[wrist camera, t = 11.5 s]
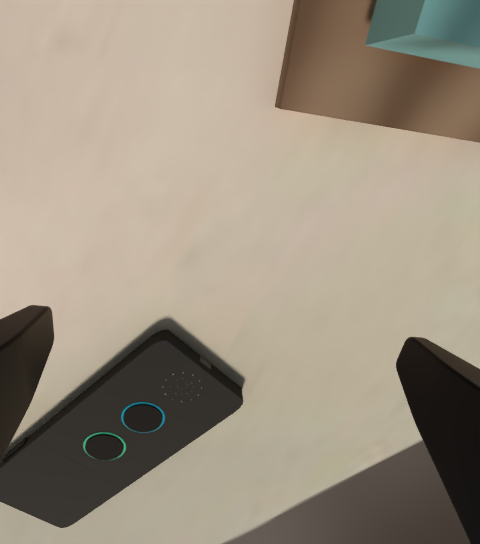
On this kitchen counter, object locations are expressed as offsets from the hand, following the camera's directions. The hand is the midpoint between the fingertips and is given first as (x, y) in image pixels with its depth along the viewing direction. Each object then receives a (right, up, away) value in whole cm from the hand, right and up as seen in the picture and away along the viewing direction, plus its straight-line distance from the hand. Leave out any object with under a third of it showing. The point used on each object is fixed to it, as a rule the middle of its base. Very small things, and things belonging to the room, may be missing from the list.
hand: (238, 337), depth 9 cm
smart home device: (-10, -10, +19) cm, 23 cm away
